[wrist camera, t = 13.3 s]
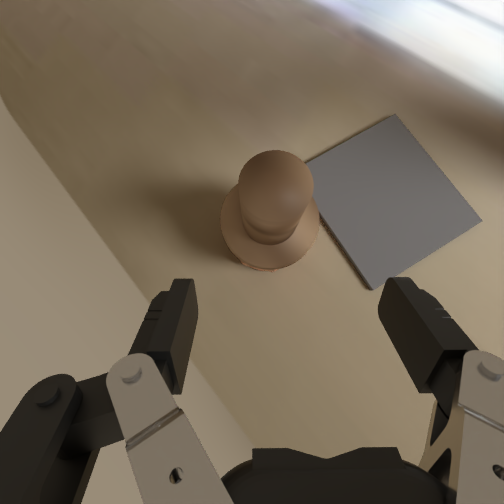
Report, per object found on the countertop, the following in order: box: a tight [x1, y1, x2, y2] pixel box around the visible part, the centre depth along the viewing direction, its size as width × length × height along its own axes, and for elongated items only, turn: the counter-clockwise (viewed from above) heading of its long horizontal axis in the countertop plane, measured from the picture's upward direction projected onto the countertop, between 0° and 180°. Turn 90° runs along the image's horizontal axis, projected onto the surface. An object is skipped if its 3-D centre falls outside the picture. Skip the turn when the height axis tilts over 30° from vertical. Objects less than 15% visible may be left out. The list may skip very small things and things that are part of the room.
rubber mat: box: [306, 114, 482, 291], centre depth 32 cm, size 15×16×1 cm
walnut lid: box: [220, 150, 319, 270], centre depth 22 cm, size 9×9×8 cm
